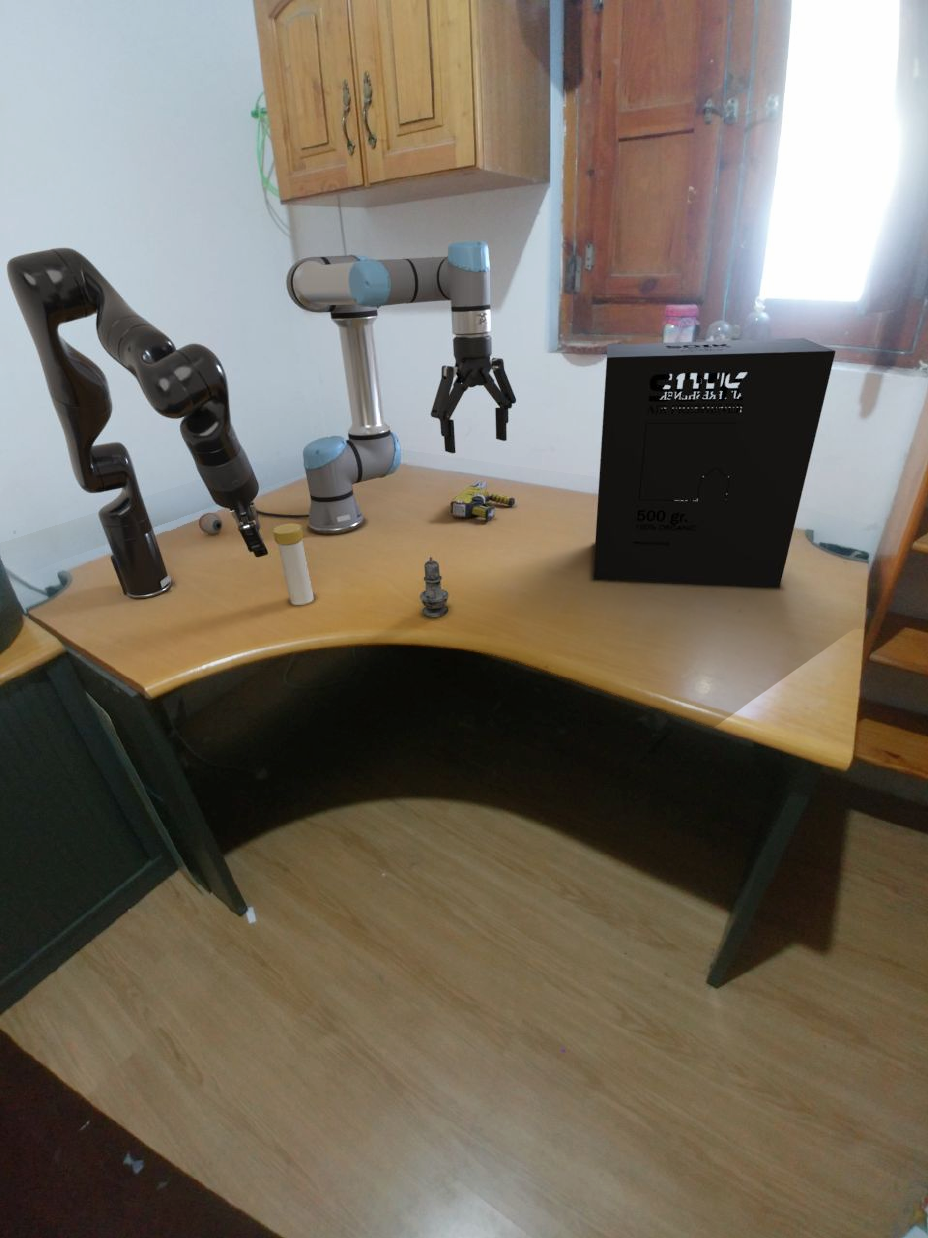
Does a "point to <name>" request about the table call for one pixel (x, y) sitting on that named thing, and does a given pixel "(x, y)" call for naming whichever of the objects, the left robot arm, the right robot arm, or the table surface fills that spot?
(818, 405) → the cardboard box
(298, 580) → the jar
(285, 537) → the lid
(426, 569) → the dark grey tall piece
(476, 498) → the toy gun
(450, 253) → the right robot arm
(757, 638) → the table surface
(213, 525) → the eyeball
